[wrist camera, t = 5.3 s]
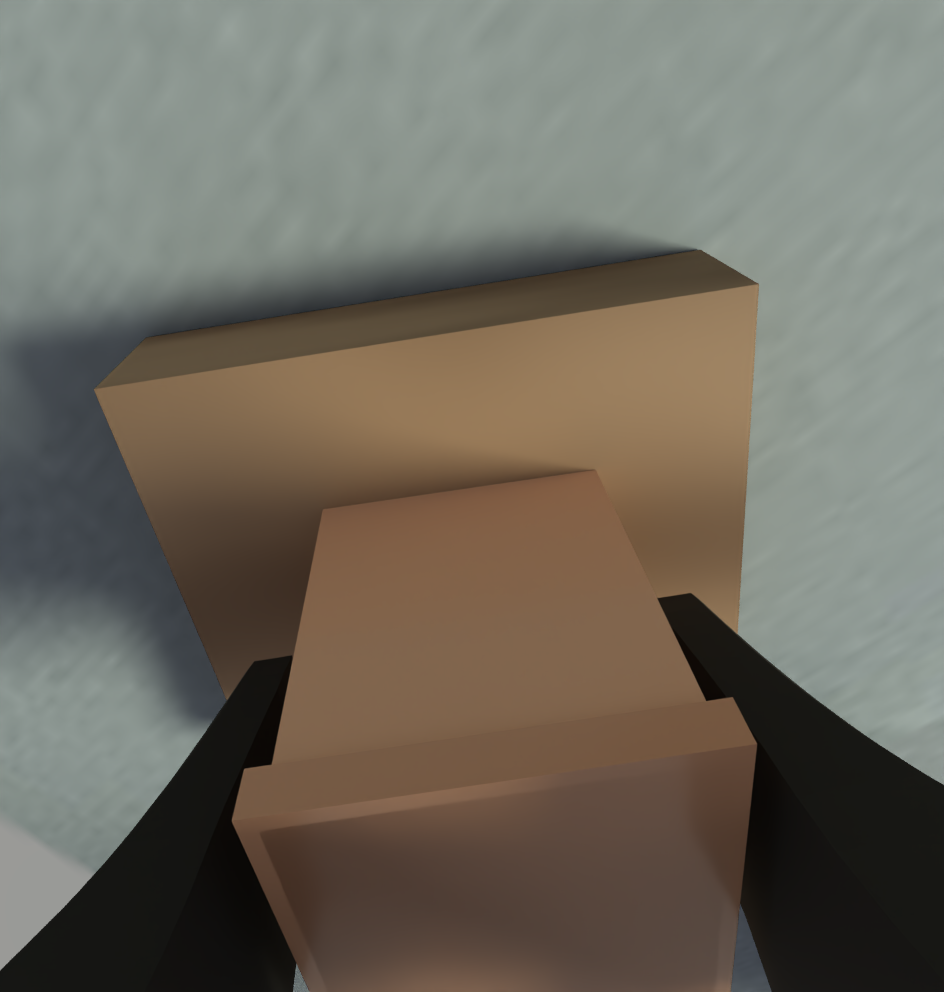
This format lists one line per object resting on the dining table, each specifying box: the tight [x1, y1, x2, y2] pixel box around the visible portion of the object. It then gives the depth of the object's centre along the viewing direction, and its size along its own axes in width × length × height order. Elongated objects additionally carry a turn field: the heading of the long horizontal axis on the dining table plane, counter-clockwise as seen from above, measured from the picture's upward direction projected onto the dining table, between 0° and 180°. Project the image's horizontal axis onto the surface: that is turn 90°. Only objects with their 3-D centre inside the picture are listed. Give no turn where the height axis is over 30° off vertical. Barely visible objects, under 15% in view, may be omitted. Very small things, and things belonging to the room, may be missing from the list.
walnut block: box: [94, 250, 759, 700], centre depth 14 cm, size 10×10×2 cm
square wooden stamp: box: [232, 470, 757, 992], centre depth 11 cm, size 5×5×6 cm
